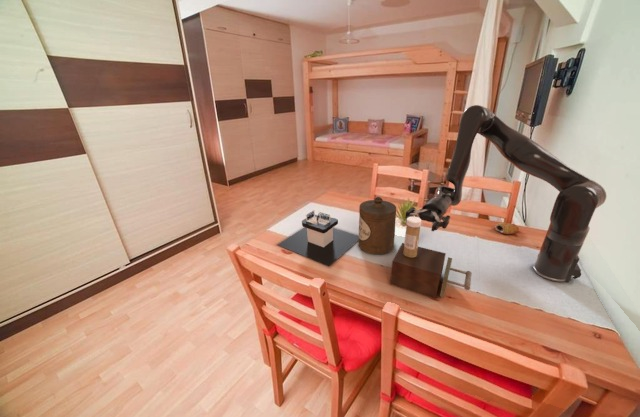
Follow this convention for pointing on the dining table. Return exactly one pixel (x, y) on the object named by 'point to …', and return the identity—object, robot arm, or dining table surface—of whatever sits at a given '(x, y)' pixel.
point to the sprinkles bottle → (412, 236)
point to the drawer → (445, 281)
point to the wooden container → (377, 226)
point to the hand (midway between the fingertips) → (419, 225)
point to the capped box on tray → (320, 239)
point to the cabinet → (418, 271)
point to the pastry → (506, 228)
